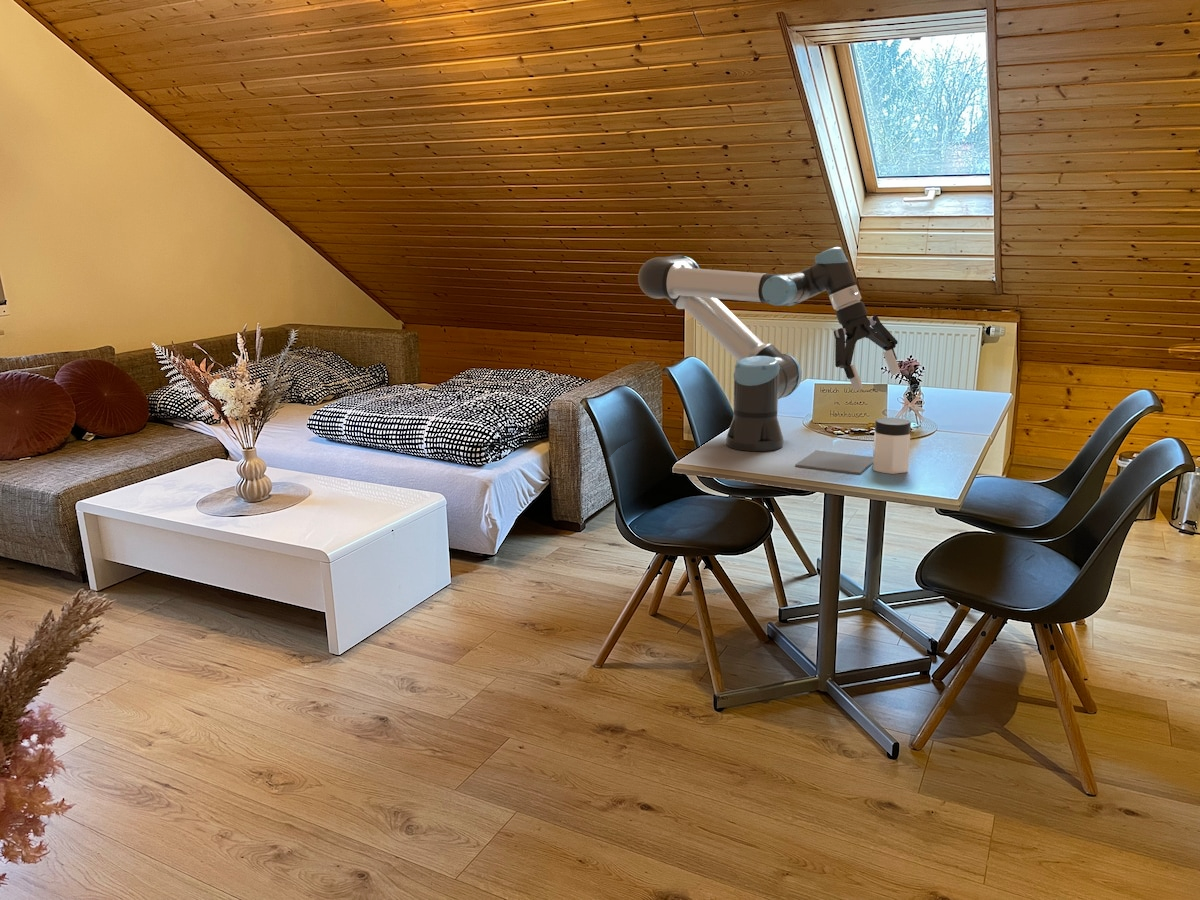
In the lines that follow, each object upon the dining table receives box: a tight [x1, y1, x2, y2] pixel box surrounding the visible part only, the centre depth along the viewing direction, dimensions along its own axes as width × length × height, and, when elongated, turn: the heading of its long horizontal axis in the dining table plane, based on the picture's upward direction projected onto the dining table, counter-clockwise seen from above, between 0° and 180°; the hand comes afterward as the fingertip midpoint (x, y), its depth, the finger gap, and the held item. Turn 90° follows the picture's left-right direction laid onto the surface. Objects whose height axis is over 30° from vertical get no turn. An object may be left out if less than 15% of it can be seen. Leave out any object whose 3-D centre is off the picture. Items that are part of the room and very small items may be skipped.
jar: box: [872, 417, 912, 475], centre depth 216 cm, size 9×8×12 cm
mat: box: [794, 449, 873, 476], centre depth 224 cm, size 16×16×1 cm
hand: (877, 381), depth 235 cm, fingers open, 13 cm apart
